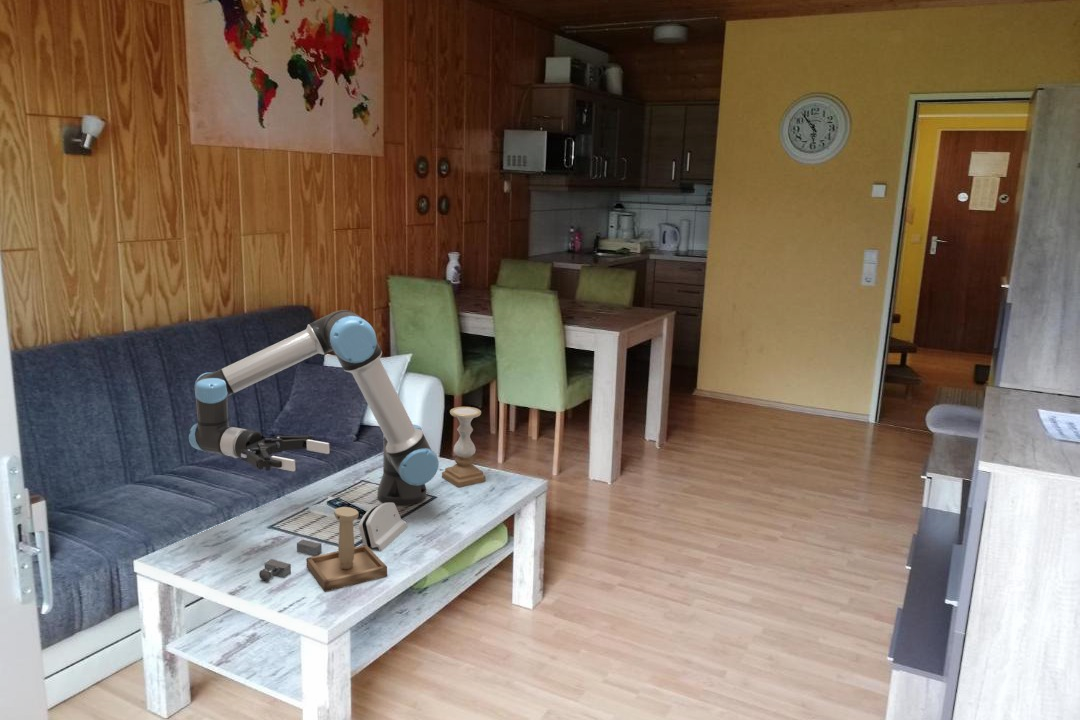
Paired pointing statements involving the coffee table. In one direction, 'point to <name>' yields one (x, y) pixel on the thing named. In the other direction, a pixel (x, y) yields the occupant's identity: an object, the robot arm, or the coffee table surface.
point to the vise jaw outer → (275, 569)
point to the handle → (346, 535)
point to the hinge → (381, 526)
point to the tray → (335, 577)
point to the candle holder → (464, 451)
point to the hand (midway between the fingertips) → (312, 456)
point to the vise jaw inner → (309, 548)
